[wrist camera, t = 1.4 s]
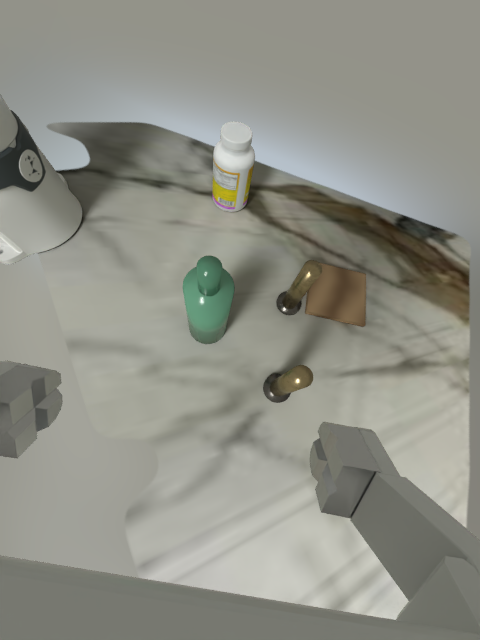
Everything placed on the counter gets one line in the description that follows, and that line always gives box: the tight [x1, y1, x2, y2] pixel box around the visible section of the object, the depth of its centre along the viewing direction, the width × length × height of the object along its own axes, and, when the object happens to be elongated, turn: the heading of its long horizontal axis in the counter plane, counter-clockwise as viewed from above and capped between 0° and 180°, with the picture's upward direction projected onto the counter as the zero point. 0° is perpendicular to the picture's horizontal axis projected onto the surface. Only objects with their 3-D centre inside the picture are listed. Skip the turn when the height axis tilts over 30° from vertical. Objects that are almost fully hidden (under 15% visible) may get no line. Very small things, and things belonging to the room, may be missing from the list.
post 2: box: [263, 365, 313, 403], centre depth 34 cm, size 4×4×11 cm
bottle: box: [183, 256, 234, 344], centre depth 33 cm, size 6×6×17 cm
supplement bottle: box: [213, 122, 255, 212], centre depth 45 cm, size 7×7×13 cm
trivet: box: [305, 263, 366, 327], centre depth 45 cm, size 10×10×1 cm
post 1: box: [277, 260, 322, 315], centre depth 39 cm, size 4×4×11 cm
